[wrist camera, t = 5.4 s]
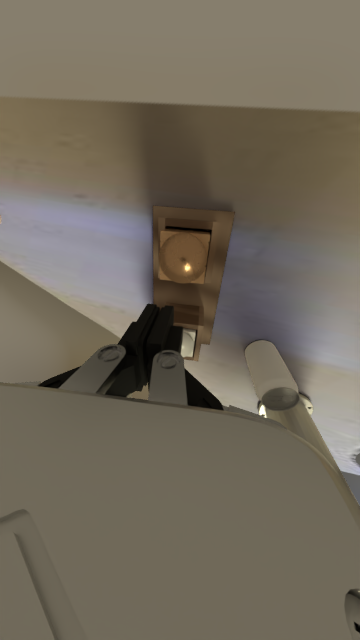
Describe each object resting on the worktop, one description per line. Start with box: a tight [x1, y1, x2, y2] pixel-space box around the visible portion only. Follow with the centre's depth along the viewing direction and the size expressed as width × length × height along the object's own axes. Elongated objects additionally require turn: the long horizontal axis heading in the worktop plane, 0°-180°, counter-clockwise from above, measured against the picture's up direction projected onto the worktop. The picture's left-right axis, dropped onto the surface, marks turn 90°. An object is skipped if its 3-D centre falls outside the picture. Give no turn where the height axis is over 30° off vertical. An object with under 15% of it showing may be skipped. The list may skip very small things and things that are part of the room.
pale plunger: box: [181, 328, 196, 357], centre depth 32 cm, size 5×5×8 cm
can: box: [245, 340, 300, 411], centre depth 33 cm, size 6×6×12 cm
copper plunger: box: [159, 228, 210, 284], centre depth 22 cm, size 5×5×8 cm
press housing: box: [153, 206, 235, 361], centre depth 29 cm, size 24×12×8 cm, turn 176°
